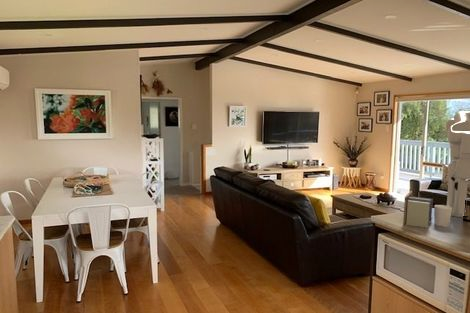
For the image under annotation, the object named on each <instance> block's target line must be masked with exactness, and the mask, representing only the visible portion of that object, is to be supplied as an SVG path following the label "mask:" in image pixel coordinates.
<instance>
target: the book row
mask: <svg viewBox="0 0 470 313" xmlns="http://www.w3.org/2000/svg"><path fill="white" fill-rule="evenodd" d="M413 197H414V196H412V197H409V200H408V205H407V221H406V224H405V225H406V226H414V227H418V226H419V227H418V228H424V227H425V228H426V229H428V228H429V226H430V220H429V215H430V200H429V199H430V198H427V199H421V198H422V197H418V198H413Z"/></svg>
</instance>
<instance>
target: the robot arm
mask: <svg viewBox="0 0 470 313" xmlns="http://www.w3.org/2000/svg"><path fill="white" fill-rule="evenodd" d="M445 132H446V135H447V140H448V144H449V151H450V152H449V154H450V159H451V161H452V162H451V161H450V162H449V163H448V165H447V176H448V184H447V196H446V197H447V198H446V206H450V207H452V210H451V217H457V218H464V217H463V214H464V208H465V200H466V201H467V193H468V185H467V182H465V180H470V111H464V110H463V111H458V112H457V113H456V114H455V115H454V116H453V118H449V119H447V121H446V123H445ZM463 179H465V180H463Z"/></svg>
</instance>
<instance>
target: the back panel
mask: <svg viewBox="0 0 470 313" xmlns="http://www.w3.org/2000/svg"><path fill="white" fill-rule="evenodd" d="M409 197H413V191H412V190H410V191H409V192H408V193H407V194H406V195H405V196H404V203H403V204H404V206H403V221H402V222H403V224H402V225H406V221H407V205H408V200H409Z"/></svg>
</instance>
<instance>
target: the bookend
mask: <svg viewBox="0 0 470 313" xmlns="http://www.w3.org/2000/svg"><path fill="white" fill-rule="evenodd" d="M412 197H413V198H419V197H416V196H412ZM420 198H421V199H429V200H430V215H429V222H430V221H432V220H433V216H432V214H433V198H426V197H420Z"/></svg>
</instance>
